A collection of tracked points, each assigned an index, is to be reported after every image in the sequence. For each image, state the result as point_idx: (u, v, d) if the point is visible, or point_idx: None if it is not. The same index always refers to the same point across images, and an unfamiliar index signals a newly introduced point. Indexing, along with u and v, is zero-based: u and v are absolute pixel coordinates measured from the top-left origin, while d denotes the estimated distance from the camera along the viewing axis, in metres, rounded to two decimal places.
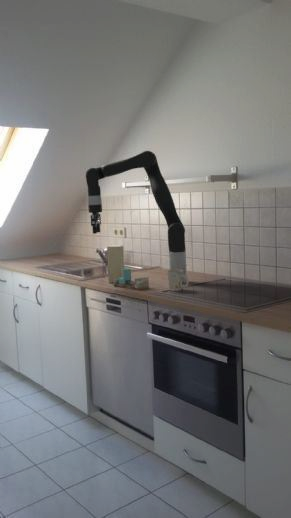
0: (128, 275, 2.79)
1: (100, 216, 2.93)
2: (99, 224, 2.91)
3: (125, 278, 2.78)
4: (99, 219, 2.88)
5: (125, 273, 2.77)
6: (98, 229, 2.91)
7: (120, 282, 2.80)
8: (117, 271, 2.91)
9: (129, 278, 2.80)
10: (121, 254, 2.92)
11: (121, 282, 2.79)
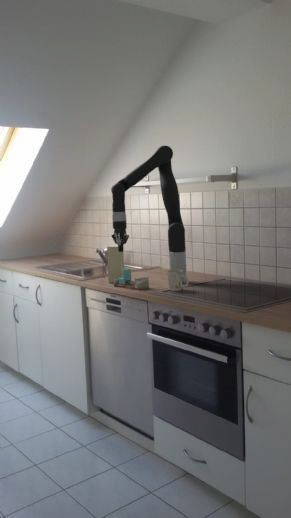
0: (128, 275, 2.79)
1: (115, 237, 2.84)
2: None
3: (125, 278, 2.78)
4: None
5: (125, 273, 2.77)
6: None
7: (120, 282, 2.80)
8: (117, 271, 2.91)
9: (129, 278, 2.80)
10: (121, 254, 2.92)
11: (121, 282, 2.79)
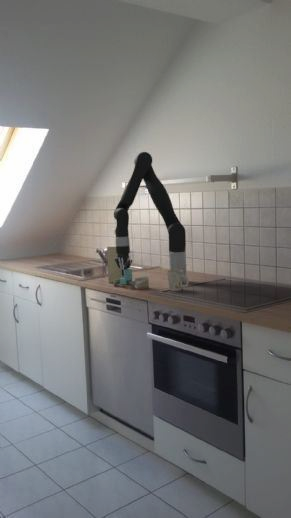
0: (129, 275, 2.78)
1: None
2: None
3: (126, 278, 2.77)
4: None
5: (126, 273, 2.77)
6: None
7: (121, 282, 2.79)
8: (117, 271, 2.91)
9: (130, 278, 2.79)
10: None
11: (122, 282, 2.79)
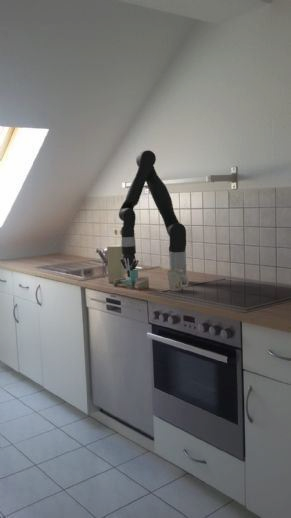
0: (135, 276, 2.75)
1: (124, 262, 2.81)
2: None
3: (132, 279, 2.73)
4: None
5: (132, 274, 2.73)
6: None
7: (127, 283, 2.76)
8: (117, 271, 2.91)
9: None
10: (121, 254, 2.92)
11: (128, 283, 2.75)
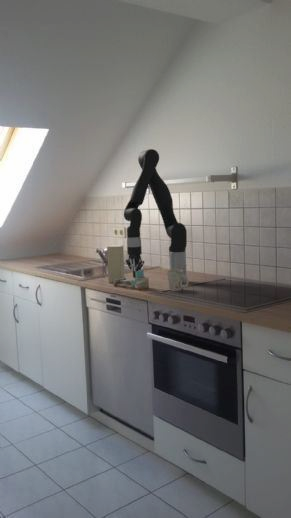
0: (141, 276, 2.71)
1: None
2: None
3: None
4: None
5: (138, 275, 2.70)
6: None
7: (133, 284, 2.72)
8: (117, 271, 2.91)
9: None
10: (121, 254, 2.92)
11: (134, 284, 2.72)
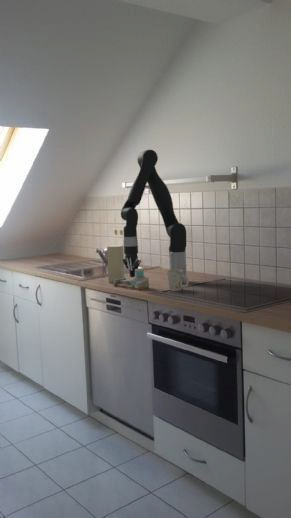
0: (141, 276, 2.71)
1: None
2: None
3: None
4: None
5: (138, 275, 2.70)
6: None
7: (133, 284, 2.72)
8: (117, 271, 2.91)
9: None
10: (121, 254, 2.92)
11: (134, 284, 2.72)
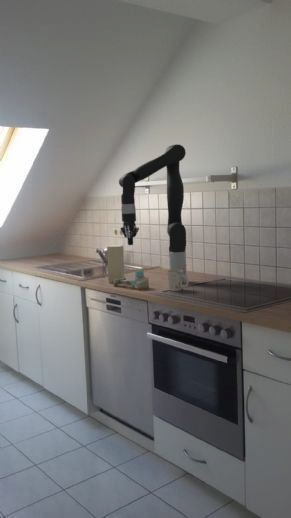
0: (141, 276, 2.71)
1: (124, 230, 2.78)
2: None
3: None
4: None
5: (138, 275, 2.70)
6: None
7: (133, 284, 2.72)
8: (117, 271, 2.91)
9: None
10: (121, 254, 2.92)
11: (134, 284, 2.72)
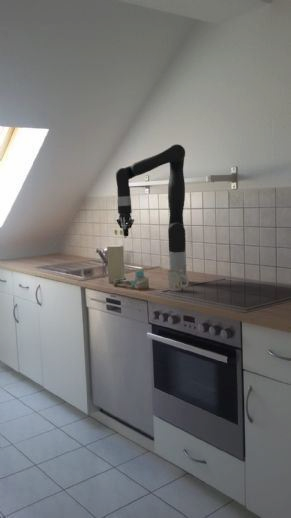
0: (141, 276, 2.71)
1: None
2: None
3: None
4: None
5: (138, 275, 2.70)
6: None
7: (133, 284, 2.72)
8: (117, 271, 2.91)
9: None
10: (121, 254, 2.92)
11: (134, 284, 2.72)
